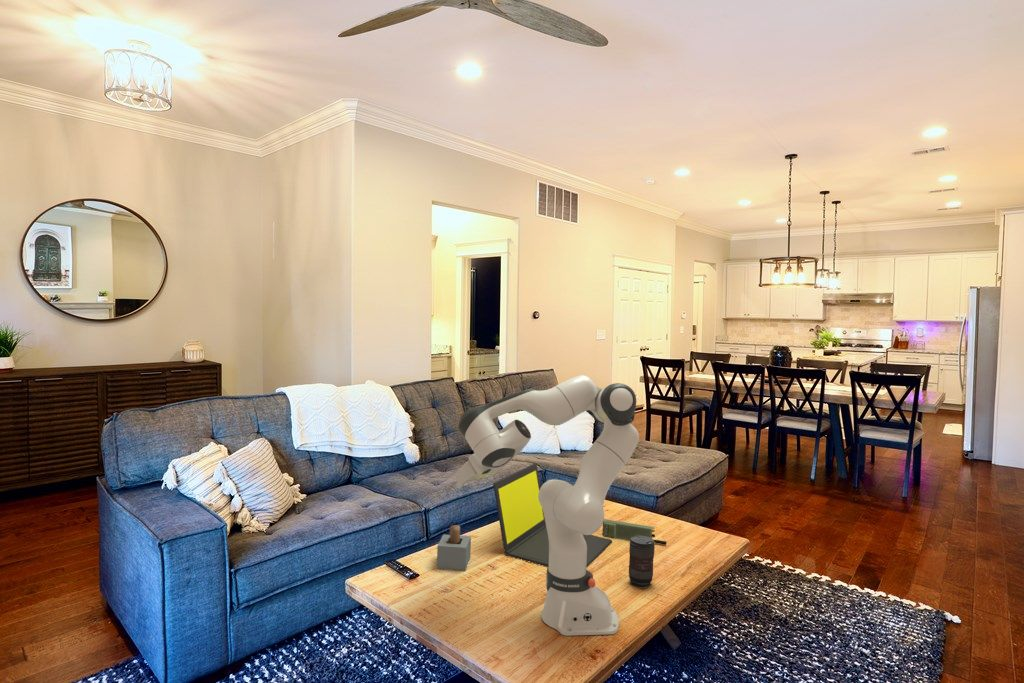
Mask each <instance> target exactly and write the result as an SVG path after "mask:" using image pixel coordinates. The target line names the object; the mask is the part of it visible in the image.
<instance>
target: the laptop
mask: <svg viewBox="0 0 1024 683" xmlns="http://www.w3.org/2000/svg"><path fill="white" fill-rule="evenodd" d="M540 488H541V482H540V478H539V470H538V464H537V463H532V464H531V465H528V466H526V467H524V468H521V469H520V470H518V471H516V472H513V473H511V474H509V475H507V476H505V477H503V478H500V479H499V480H497V481H494V482H493V491H494V496H495V497H494V498H495V503H496V509H497V515H498V521H499V522H498V523H499V526H500V527H499V528H500V533H501V540H502V546H503V553H504V555H505V556H506V555H507V557H510V556H511V558H513V557H515V558H514V559H517V558H519V559H518V560H521V559H522V560H521V561H524V560H526V561H525V562H528V561H530V562H529V563H531V562H533V563H532V564H535V563H536V564H535V565H538V564H540V565H539V566H542V565H543V567H545V566H546V568H548V567H549V540H548V533H547V528H546V522H545V517H544V513H543V509H542V507H541V505H540V502H539V499H538V494H539V490H540ZM583 537H584V539H585V541H586V544H587V566H586V569H587V568H588V567H589V566H590V565H591V564H592V563H593V562H594V561H595V560H596V559H598V557H599V556H600V555H601V554H602V553H603V552H604V551H605V550H606V549H607V548H608V547H610V545H611V544H612V543H613V540H612V539H610V538H605V537H603V536H598V535H594V534H591V535H584V534H583Z"/></svg>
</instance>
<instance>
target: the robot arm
mask: <svg viewBox="0 0 1024 683" xmlns="http://www.w3.org/2000/svg"><path fill="white" fill-rule="evenodd" d="M636 407H637V397H636V393H635V391H634V389H632V387H630V386H628V385H627V384H625V383H619V382H617V383H616V382H615V383H611V384H609V385H607V386H605V387H604V388H602V387H598V385H596V383H595V382H594V380H592V378H590V377H589V376H588V375H585V374H580V375H576V376H574V377H571V378H569V379H566V380H564V381H562V382H559V383H558V384H557V385H555V386H553V387H551V388H549V389H542V390H537V389H534V388H527V389H524V390H521V391H518V392H517V391H516V392H515V393H512V394H510V395H507V396H504V397H502V398H500V399H497V400H493V401H491V402H489V403H485V404H483V405H477V406H475V407H472V408H470V409H467V410H466V411H464V412H463V413H462V414H461V415H460V417H459V421H458V423H457V424H458V426H457V427H458V428H457V429H458V431H459V432H460V434H461V435H462V436H463V438H464V439H465V440H466V442H467V444H468V445H469V447H470V448H471V450H472V451H473V453H472V454H471V455H469V457H468V460H467V461H466V462H465V463H463V464H462V466H461V467H460V468H459V469H458V470H457V472H455V475H454V479H455V480H456V484H455V485H456V488H457V489H461V488H463V487H464V486H465V485H466V484H468V483H472V482H475V481H476V482H478V483H479V482H480V481H482V480H483V479H485V478H486V477H487V476H491V475H493V474H497V473H499V472H501V471H502V470H503V469H504V468H505V467H506V466H507V465H508V464H509V463H510V462H511V461H512V459H513V458H515V457H516V456H518V455H519V454H520V453H521V452H522V451H523V450H524V448H525V447H526V446H527V444H528V443H530V440H531V438H532V434H531V431H530V430H529V428H528V427H527V425H526V424H525V423H524V422H523V421H522V420H519V419H514V420H511V422H509V423H508V424H506V425H505V426H504V427H503V428H502V429H501V430H499V429H498V427H497V426H496V424H495V422H494V419H495V418H498V417H500V416H503V415H505V414H508V413H511V412H513V411H518V410H520V411H524V412H527V413H528V414H530V415H532V416H534V417H535V419H537V420H539V421H540V422H542V423H544V424H546V425H549V426H561V425H563V424H565V423H567V422H569V421H570V420H573V419H574V418H576V417H577V416H579V415H581V414H582V413H585V412H586V413H588V414H589V415H590V416H591V418H593V419H594V420H595V421H596V422H598V423H600V424H602V425H603V430H602V431H601V433H600V435H599V436H598V437H597V438H596V440H595V441H594V442H593V444H592V445H590V447H589V449H588V450H587V451H586V453H585V454H584V455H583V456H582V457H581V459H580V460H579V463H578V469H579V474H578V477H577V478H576V481H575V483H574V484H571V483H570V482H567V481H566V480H563V479H562V480H560V479H553V478H552V479H549V480H546V482H544V483H543V484H542V485H540V487H541V488H540V490H539V494H538V499H539V502H540V505H541V507H542V509H543V513H544V517H545V522H546V528H547V533H548V540H549V567H546V573H545V588H546V594H545V599H544V605H543V608H542V610H541V613H540V614H541V615H540V617H541V619H542V621H543V622H544V623H545V624H546V625H547V626H549V627H550V628H552V629H555V630H557V631H558V633H559V634H561V635H562V636H571V637H572V636H594V635H595V636H597V635H598V636H601V635H615V634H616V633H617V632H618V631H619V628H620V620H619V615H618V613H617V611H616V610H615V608H613V607H612V604H611V601H610V599H609V596H608V595H607V594H606V592H604V590H602V589H600V588H599V587H598V586H597V585H596V580H595V579H594V574H593V572H592V571H591V569H589V570H588V569H587V568H586V566H587V544H586V541H585V539H584V537H583V534H584V535H594V534H595V533H597V532H598V531H599V530H600V529H601V527H603V521H604V519H605V510H604V503H605V499H606V497H607V493H608V491H609V489H610V487H611V485H612V484H613V482H614V481H615V479H616V478H617V476H618V475H619V474H620V473H621V471H622V470H623V468H624V467H625V465H626V464H627V463H628V461H629V460H630V458H631V457H632V455H633V453H634V452H635V449H636V448H637V446H638V443H640V442H639V441H640V434H639V432H638V430H637V428H636V427H635V426H634V425H633V424H632V423H633V421H634V420H635V416H636V415H635V414H636Z"/></svg>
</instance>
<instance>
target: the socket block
mask: <svg viewBox="0 0 1024 683" xmlns="http://www.w3.org/2000/svg"><path fill="white" fill-rule="evenodd" d="M471 540H472V536H471V535H460V544H450V534H442V536H441V538H440V540H439V542H438V544H437V545H436V546H437V547H436V549H437V550H436V569H437V570H449V569H453V570H452V571H463V570H465V571H466V570H467V569H468V566H467V565H469V563H468V562H470V560H471V548H472V547H471V545H472V541H471ZM465 571H464V572H465Z"/></svg>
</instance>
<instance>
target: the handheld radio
mask: <svg viewBox="0 0 1024 683" xmlns="http://www.w3.org/2000/svg"><path fill="white" fill-rule="evenodd" d="M655 528H656V527H655V526H651V525H645V524H638V523H631V522H625V521H621V520H620V521H619V520H614V519H613V520H612V519H606V518H604V521H603V524H602V537H607V538H612V539H613V538H614V539H619V540H625V541H629V542H630V540H631V537H633V536H638V535H640V536H647V537H650V538H652V539H653V538H656V535H655V534H654V533H655V532H656V530H655ZM653 540H654V544H659V545H665V546H666V545H667V541H665V540H660V539H653Z"/></svg>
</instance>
